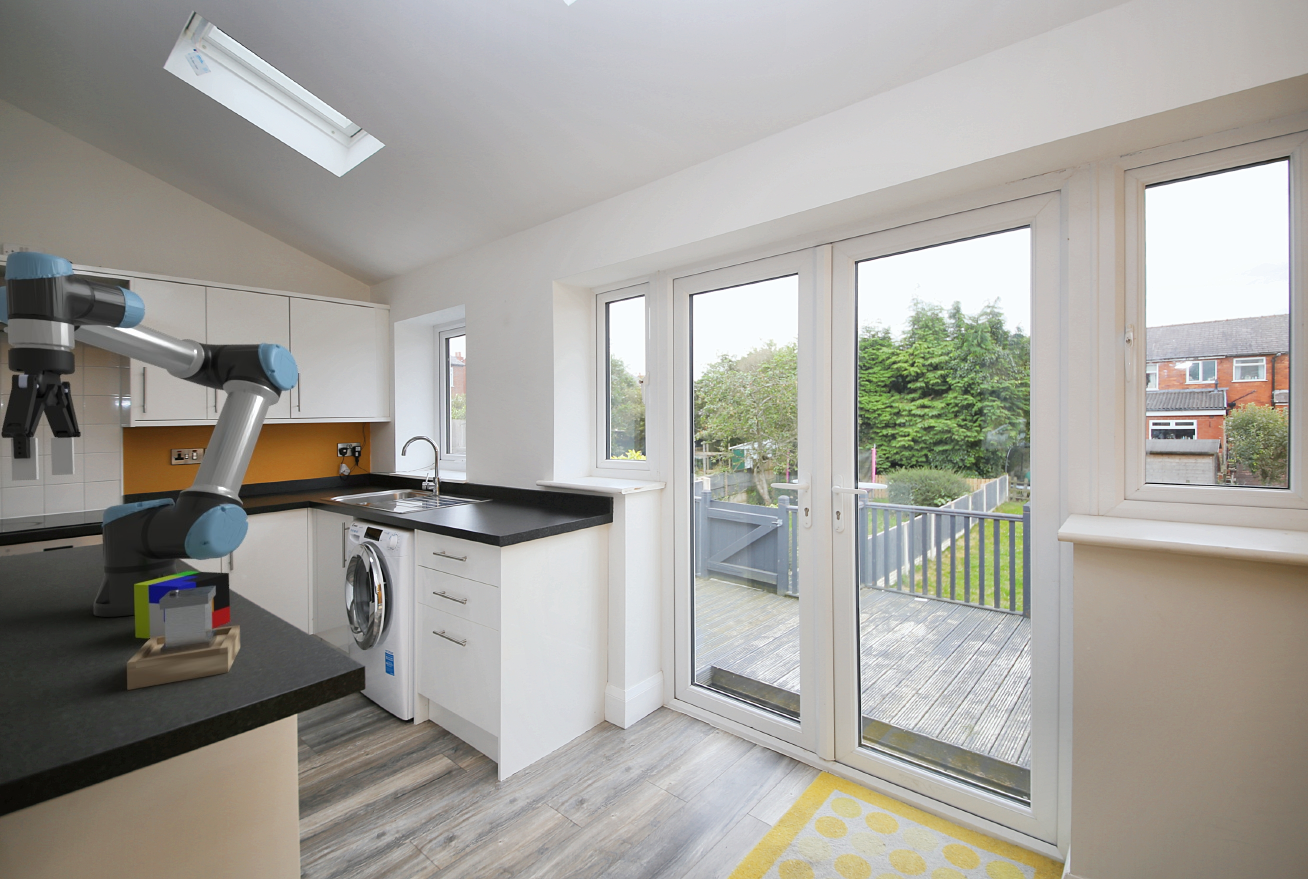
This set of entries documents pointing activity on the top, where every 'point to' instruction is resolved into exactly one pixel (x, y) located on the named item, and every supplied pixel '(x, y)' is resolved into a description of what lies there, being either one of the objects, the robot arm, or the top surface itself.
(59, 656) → the top surface
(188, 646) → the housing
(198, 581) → the puzzle toy
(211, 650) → the tray
